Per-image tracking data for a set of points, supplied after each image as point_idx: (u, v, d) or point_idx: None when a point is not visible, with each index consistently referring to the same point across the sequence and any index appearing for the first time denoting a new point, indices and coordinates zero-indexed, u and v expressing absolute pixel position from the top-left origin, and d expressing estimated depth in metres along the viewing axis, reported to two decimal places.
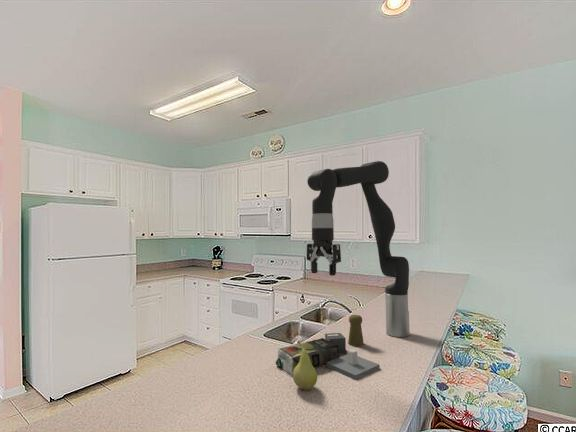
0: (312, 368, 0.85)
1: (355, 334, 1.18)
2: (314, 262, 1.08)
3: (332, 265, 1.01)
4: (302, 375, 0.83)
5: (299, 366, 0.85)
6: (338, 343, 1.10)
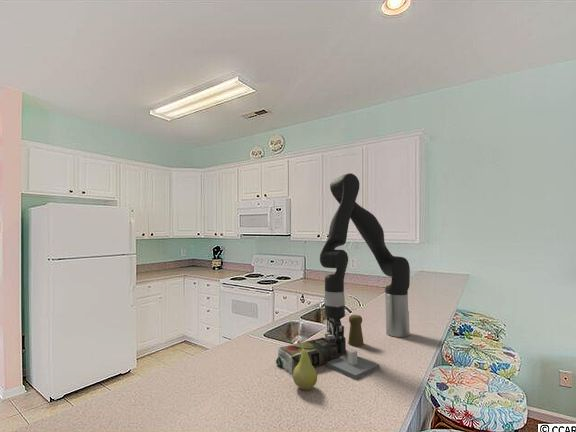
0: (312, 368, 0.85)
1: (355, 334, 1.18)
2: None
3: None
4: (302, 375, 0.83)
5: (299, 366, 0.85)
6: None
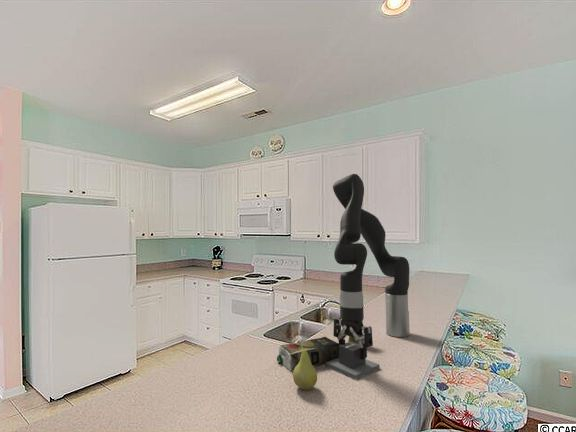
0: (312, 368, 0.85)
1: None
2: None
3: None
4: (302, 375, 0.83)
5: (299, 366, 0.85)
6: None
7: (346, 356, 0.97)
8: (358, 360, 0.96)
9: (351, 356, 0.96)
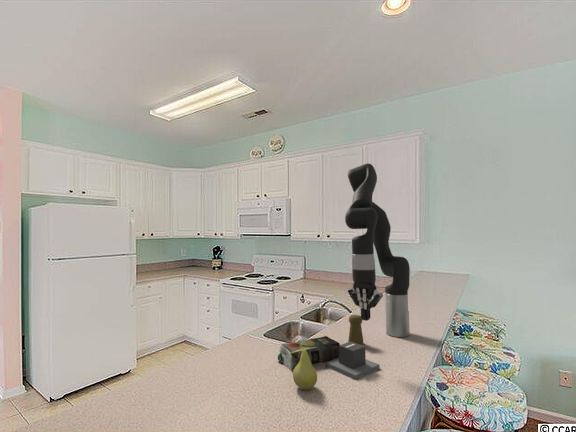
0: (312, 368, 0.85)
1: (355, 334, 1.18)
2: None
3: None
4: (302, 375, 0.83)
5: (299, 366, 0.85)
6: (360, 354, 0.97)
7: (346, 356, 0.97)
8: (358, 360, 0.96)
9: (351, 356, 0.96)
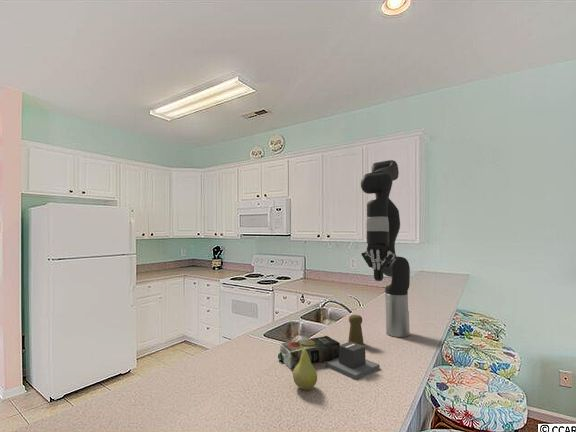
0: (312, 368, 0.85)
1: (355, 334, 1.18)
2: None
3: None
4: (302, 375, 0.83)
5: (299, 366, 0.85)
6: (360, 354, 0.97)
7: (346, 356, 0.97)
8: (358, 360, 0.96)
9: (351, 356, 0.96)
